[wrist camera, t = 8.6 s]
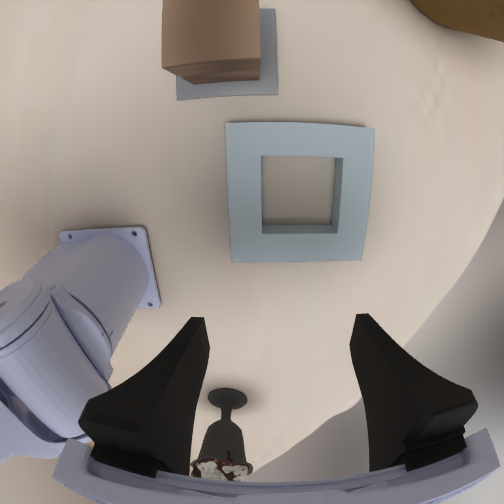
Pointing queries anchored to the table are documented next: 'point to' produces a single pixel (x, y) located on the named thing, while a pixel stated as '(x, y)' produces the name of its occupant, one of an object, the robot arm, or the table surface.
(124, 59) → the table surface
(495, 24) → the plant pot
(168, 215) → the table surface
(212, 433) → the sundae
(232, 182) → the pocket holder
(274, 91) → the plate
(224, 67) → the walnut block
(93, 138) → the table surface
